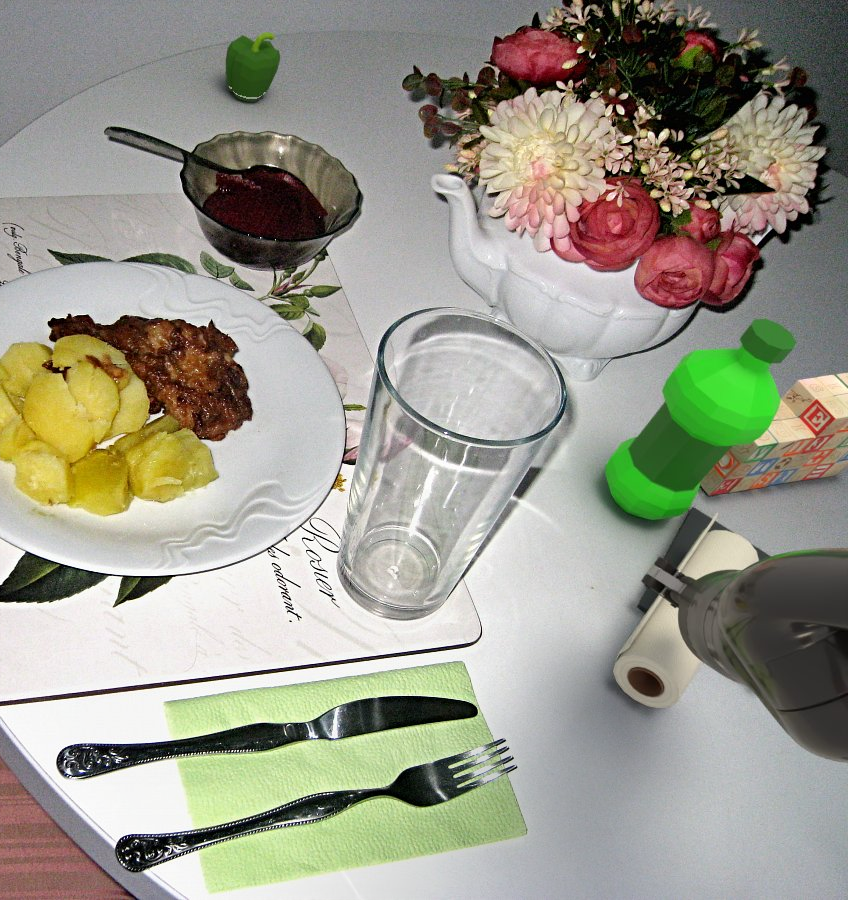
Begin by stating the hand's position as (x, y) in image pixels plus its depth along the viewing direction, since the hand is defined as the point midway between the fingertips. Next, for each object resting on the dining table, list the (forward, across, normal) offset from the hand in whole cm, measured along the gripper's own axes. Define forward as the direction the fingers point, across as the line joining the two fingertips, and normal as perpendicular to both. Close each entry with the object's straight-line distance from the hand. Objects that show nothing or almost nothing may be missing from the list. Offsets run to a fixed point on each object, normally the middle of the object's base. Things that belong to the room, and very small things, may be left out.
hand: (700, 608), depth 78 cm
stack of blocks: (+35, +2, +20) cm, 40 cm away
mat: (+19, +4, +4) cm, 19 cm away
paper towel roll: (+3, 0, -8) cm, 9 cm away
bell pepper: (+44, -90, +30) cm, 105 cm away
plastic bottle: (+22, -8, +7) cm, 25 cm away
